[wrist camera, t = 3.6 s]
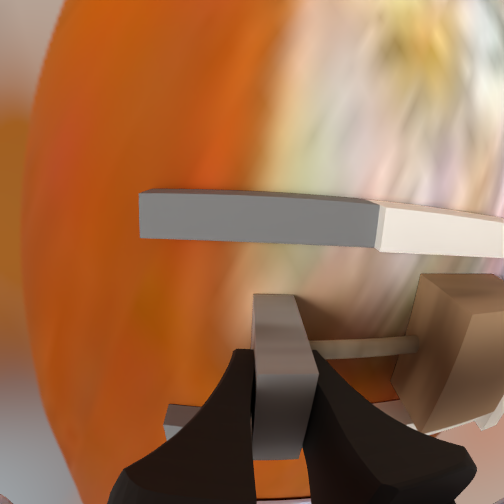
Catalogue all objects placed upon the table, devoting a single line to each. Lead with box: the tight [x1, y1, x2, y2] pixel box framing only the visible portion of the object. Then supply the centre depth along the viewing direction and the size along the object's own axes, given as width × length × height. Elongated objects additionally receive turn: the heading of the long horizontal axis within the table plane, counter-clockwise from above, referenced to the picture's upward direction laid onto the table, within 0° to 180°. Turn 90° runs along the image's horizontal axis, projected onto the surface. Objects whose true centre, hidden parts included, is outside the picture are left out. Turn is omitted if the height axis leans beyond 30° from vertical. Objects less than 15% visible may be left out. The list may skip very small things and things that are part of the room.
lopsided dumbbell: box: [251, 274, 504, 460], centre depth 11 cm, size 6×12×5 cm, turn 87°
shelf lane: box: [366, 199, 504, 435], centre depth 12 cm, size 12×12×3 cm
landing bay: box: [139, 189, 380, 448], centre depth 12 cm, size 12×8×2 cm, turn 177°
